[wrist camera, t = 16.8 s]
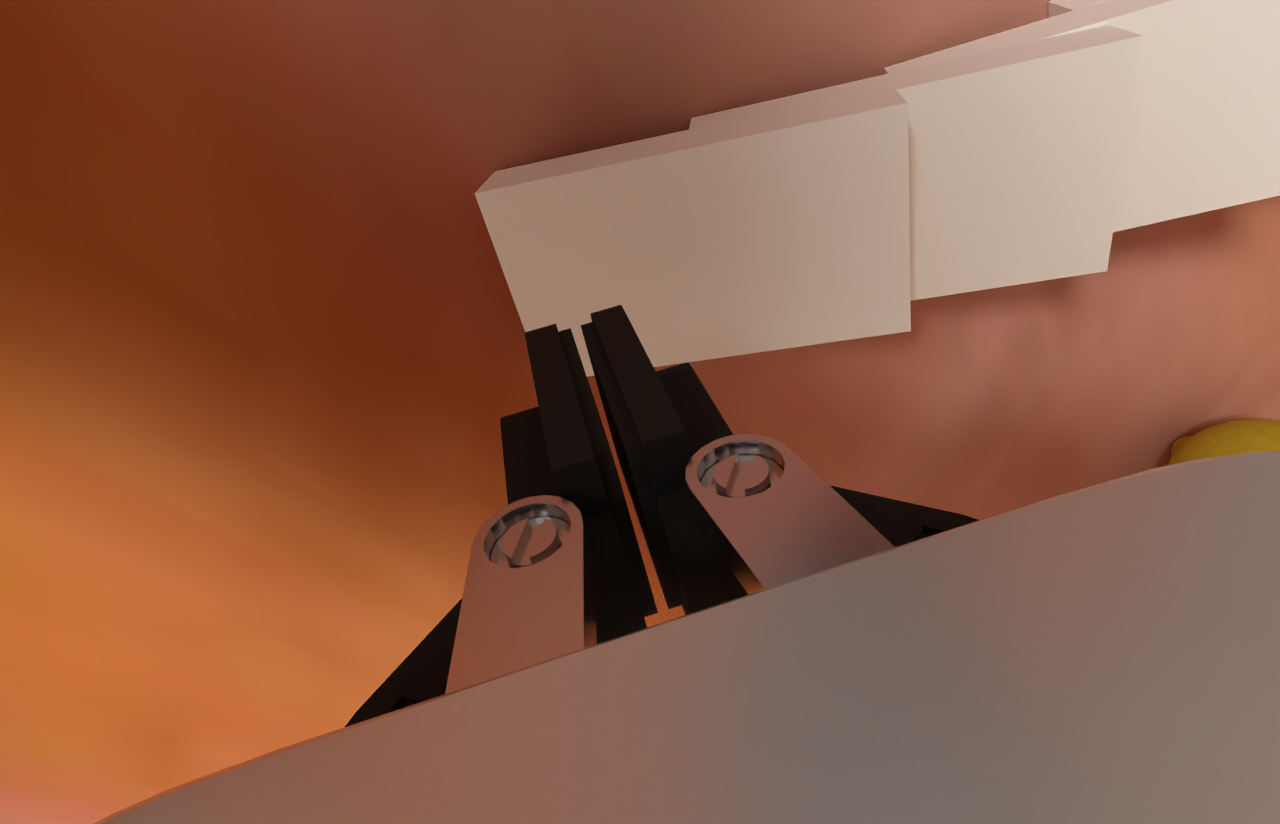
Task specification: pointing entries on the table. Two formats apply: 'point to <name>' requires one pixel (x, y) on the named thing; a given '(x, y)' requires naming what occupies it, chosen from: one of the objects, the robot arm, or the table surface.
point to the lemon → (1228, 440)
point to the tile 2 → (1007, 158)
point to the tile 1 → (719, 232)
